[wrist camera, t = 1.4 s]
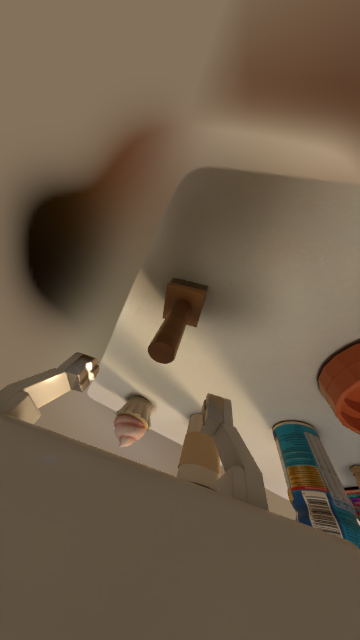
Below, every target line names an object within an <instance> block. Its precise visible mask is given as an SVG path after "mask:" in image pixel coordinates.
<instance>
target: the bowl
mask: <svg viewBox="0 0 360 640" xmlns="http://www.w3.org/2000/svg"><path fill="white" fill-rule="evenodd" d="M318 381H319V389H320V391H321V393H322V394H323V396H324V398H325V399H326V401H327V402H328V404H329V405H330V407H331V409H332V410H333V412H334V413H335V415H336V416H337V418H338V419H339V420H340V422H341V423H342V424H343V425H344V426H346V427H347V428H349V429H351V430H352V431H354V432H356V433H358V434H360V343H359V344H356V345H353V346H352V347H350V348H348V349H346V350H345V351H343V352H341V353H339V354H338V355H336V356H335V357H334V358H333V359H332V360H331V361H330V362H329V363H328V364H327V365H326V366H325V367H324V368H323V370H322V372H321V374H320V376H319V379H318Z"/></svg>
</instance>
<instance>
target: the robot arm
mask: <svg viewBox="0 0 360 640" xmlns="http://www.w3.org/2000/svg"><path fill="white" fill-rule="evenodd" d="M97 363H98V359H97V358H93V357H91V356H88V355H85V354H82V353H78V352H77V353H75V354H74V355H72V356H71V357H70V358H69V359H68V360H66V361H65V362H64V363H63V364H62V365H60V366H59V367H58V368H57V369H56V368H54V369H51V370H48V371H45V372H43V373H40V374H37V375H34V376H32V377H29V378H26V379H23V380H21V381H18V382H15V383H12V384H10V385H8V386H6V387H5V388H3V389H2V390H1V391H0V640H360V549H359V548H358V547H357V546H356V545H354V544H353V543H352V542H350V541H348V540H346V539H344V538H341V537H338V536H336V535H333V534H330V533H328V532H325V531H322V530H319V529H317V528H314V527H311V526H308V525H306V524H303V523H300V522H298V521H295V520H292V519H289V518H287V517H284V516H281V515H279V514H276V513H273V512H270V511H269V510H268V504H267V499H266V493H265V488H264V482H263V477H262V473H261V471H260V469H259V468H258V466H257V464H256V462H255V461H254V459H253V457H252V455H251V454H250V452H249V450H248V448H247V447H246V445H245V443H244V441H243V440H242V438H241V436H240V434H239V433H238V431H237V429H236V427H233V419H232V406H231V401H230V400H229V399H225V398H222V397H220V396H216V395H213V394H209V393H208V394H207V396H206V400H204V402H203V406H202V413H201V414H202V419H201V424H200V432H201V433H204V434H207V435H209V436H212V438H213V440H214V443H215V446H216V449H217V451H218V454H219V457H220V459H221V462H222V465H223V467H224V470H225V473H224V474H223V475H222V476H221V477H220V478H219V479H218V480H217V492H216V491H213V490H211V489H208V488H205V487H202V486H200V485H197V484H194V483H192V482H189V481H186V480H183V479H181V478H178V477H175V476H173V475H170V474H167V473H164V472H161V471H159V470H156V469H153V468H151V467H148V466H145V465H143V464H140V463H137V462H135V461H132V460H129V459H126V458H124V457H121V456H118V455H116V454H113V453H110V452H107V451H104V450H102V449H99V448H96V447H94V446H91V445H88V444H86V443H83V442H80V441H77V440H75V439H72V438H69V437H67V436H64V435H61V434H58V433H56V432H53V431H50V430H47V429H45V428H42V427H39V426H36V425H34V423H35V422H36V421H37V419H38V418H39V417H40V412H39V410H38V408H40V407H41V406H43V405H45V404H46V403H48V402H50V401H52V400H54V399H55V398H57V397H59V396H61V395H62V394H64V393H66V392H68V391H70V390H71V389H73V390H76V391H80V392H83V391H84V390H85V389H86V388H87V387H88V385H89V382H90V380H93V379H94V378H95V377H96V376H97V374H98V372H99V366H98V365H97Z"/></svg>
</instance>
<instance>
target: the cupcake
mask: <svg viewBox="0 0 360 640" xmlns="http://www.w3.org/2000/svg"><path fill="white" fill-rule="evenodd" d="M151 410H152V407H151V404H150V402H149V401H147V400H146V399H144V398H142V397H138V396H134V397H131V398H130V399H129V400H128V402H127V403H126V404H125V405H124V406H123V407H122V408H121V409H120V410H118V411H117V412H116V413H115V414H116V419H115V421H114V426H115V434H116V437H117V439H118V440H119V442H120V444H119V447H126V446H129V445H131V444H132V443H133V442H134V441H137V440H139V439H140V438H141V437H142V436H143V435H144V433H145V431H146V430H147V431H148V430H149V427H150V426H151V423H150V416H151Z"/></svg>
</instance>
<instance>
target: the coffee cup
mask: <svg viewBox="0 0 360 640" xmlns="http://www.w3.org/2000/svg"><path fill="white" fill-rule="evenodd" d="M201 419H202V414H193V415H192V416H191V417H190V421H189V425H188V430H187V434H186V436H185V440H184V444H183V449H182V453H181V457H180V462H179V466H178V474H177V477H178V478H181V479H183V480H186V481H189V482H192V483H194V484H197V485H200V486H202V487H205V488H208V489H211V490H213V491H216V492H217V480H218V479H219V478H220V477H221V473H220V458H219V454H218V451H217V449H216V446H215V443H214V440H213V438H212V436H209V435H207V434H204V433H201V432H200V424H201Z"/></svg>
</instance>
